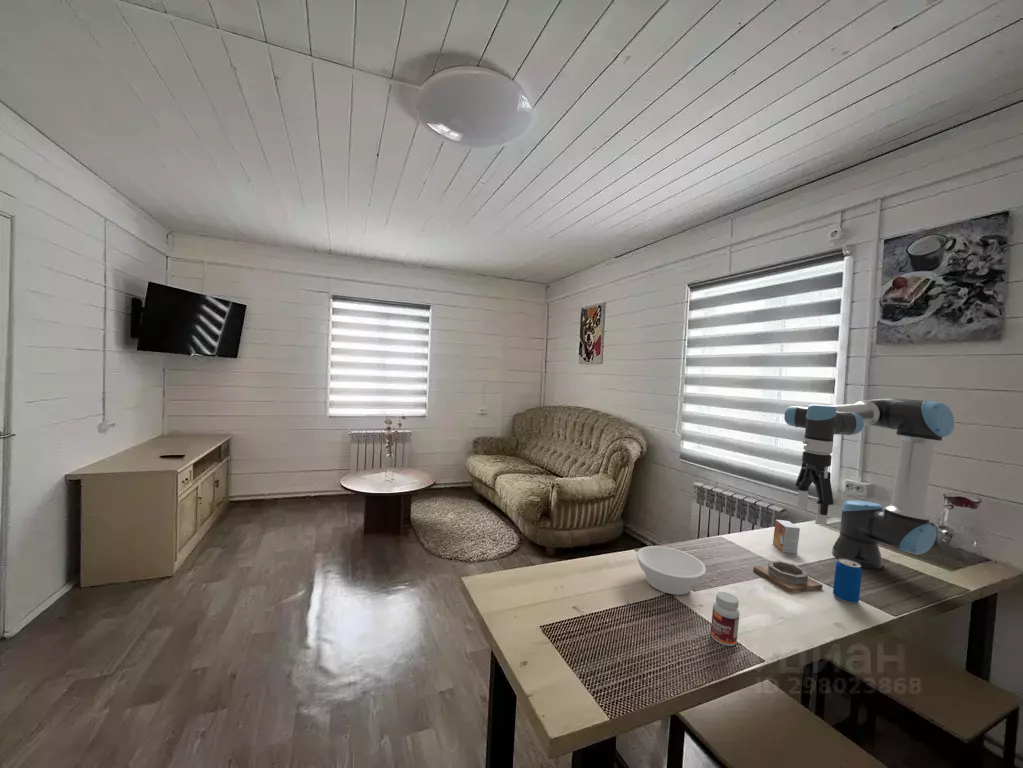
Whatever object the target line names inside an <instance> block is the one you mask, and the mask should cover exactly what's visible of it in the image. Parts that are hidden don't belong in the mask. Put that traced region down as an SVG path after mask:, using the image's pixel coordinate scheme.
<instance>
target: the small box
mask: <svg viewBox="0 0 1023 768" xmlns="http://www.w3.org/2000/svg"><path fill="white" fill-rule="evenodd" d="M773 530H774V531H773V538H772V539H773V540H772V544H773V546H775V547H777V548H778V550H780V551H781V552H782V553H790V554H795V555H796V554H798V547H799V541H800V540H799V539H800V530H801V529H800V527H798V526H797V525H795V524H793V523H792V522H791V521H790V520H783V519H775V521H774V529H773Z"/></svg>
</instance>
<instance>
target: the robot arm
mask: <svg viewBox="0 0 1023 768" xmlns="http://www.w3.org/2000/svg"><path fill="white" fill-rule="evenodd" d="M783 415H784V417H783V418H784V422H785V423H786V424H787V425H789V426H790V427H795V428H800V429H804V430H805V432H804V439H803V441H802V444H803V448H802V449H803V451H802V456H801V457H802V459H801V461H802V463H801V468H800V471H799V472H798V473H799V474H798V476H797V479H796V482H795V486H796V487H797V491H798V492H797V501H796V502H797V503H796V510H798V511H808V510H807V509H808V498H809V491H810V490H809V488H810V486H811V485H812V483H813V485H814V487H815V491H816V496H817V499H818V501H816V511H815V522H814V523H815V524H816V525H820V526H821V525H822V526H827V524H828V523H827V522H828V512H829V506H830V505H831V506H834V498H833V497H834V496H833V489H832V483H831V482H832V481H831V475H832V474H831V472H830V471H826V468H828V467H831V466H832V455H831V454H832V453H833V451H834V450H833V449H834V437H835V435H840V436H842V435H844V436H852V435H857V434H859V433H861V431H863V429H864V427H865V426H867V427H868V426H874V427H880V428H885V429H890V430H895V431H896V437H898V439H899V440H900V443H899V444H900V445H899V451H898V458H897V464H896V471H895V477H894V485H893V490H892V496H891V503H890V504H889V505H887V506H885V507H884V506H883V505H882V504H880V503H877V502H871V501H867V500H866V501H865V500H854V499H853V500H852V499H851V500H846V501H844V502H843V504H842V508H841V517H840V518H841V520H840V529H839V530H840V531H839V536H838V537H837V540H836V541H835V542H834V544H833V546H832V551H831V554H832V555H833V556H834V557H836V558H837V559H848V560H852V561H854V562H857V563H859V564H860V565H861V568H865V569H866V568H867V569H871V570H872V569H875V570H877V569H882V568H883V562H884V561H883V559H882V554H881V551H880V548H879V542H880V543H883V544H885V545H887V546H890V547H892V548H895V549H898V550H900V551H902V552H907V553H910V554H913V555H923V554H925V553H926V552H928V551H929V550H930V549H931V548H932V547H933V546H934V544H935V541H936V538H937V535H938V533H937V530H936V528H935V526H933V525H932V524H930V517H929V516H928V515H927V514H926V513H925V508H926V502H927V497H928V489H929V484H930V477H931V470H932V464H933V457H934V451H935V446H936V445H937V444H939V443H941V442H942V441H943V438H945V437H948V436H951V434H952V431H953V430H954V427H955V417H954V415H953V412H952V411H951V409H950V407H948V405H946V404H944V403H943V402H937V401H931V400H918V399H908V398H907V399H905V398H904V399H903V398H894V397H893V398H890V397H889V398H888V397H887V398H878V399H877V398H874V399H866V400H865V399H864V400H859V401H858V402H855V403H846V404H834V405H833V404H832V405H831V404H830V405H826V404H810V405H808V406H800V405H796V406H795V405H792V406H788V407H787V408H786V410H785V412H784V414H783ZM883 507H884V508H883ZM883 509H884V510H883Z"/></svg>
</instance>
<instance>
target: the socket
mask: <svg viewBox="0 0 1023 768" xmlns="http://www.w3.org/2000/svg"><path fill="white" fill-rule="evenodd" d="M753 572H755V573H757V574H758V575H759V576H761V577H763V578H765V579H766V580H767V581H769V582H771V583H772V584H774V585H776V586H777V587H779V588H781V589H783V590H784V591H786V592H787V593H797V592H809V591H818V590H823V584H822V583H819V582H818V581H817V580H814V579H812V578H811V577H809V575H808V572H807V570H806V569H804V568H802V567H800V566H799V565H796V564H794V563H791V562H786V561H783V560H779V559H778V560H768V564H767V565H760V566H757V565H755V566H753Z"/></svg>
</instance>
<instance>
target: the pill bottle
mask: <svg viewBox="0 0 1023 768" xmlns="http://www.w3.org/2000/svg"><path fill="white" fill-rule="evenodd" d="M739 601H740V600H739V598H738V597H737V596H736V595H734V594H732V593H730V592H725V591H718V592H717V593H716V597H715V602H714V603H713V606H712V614H711V615H712V616H711V625H710V636H711V637H712V639H713V640H714V641H715V642H717V643H719V644H720V645H722V646H726V647H733V646H735V645H736V644H737V643H738V634H739V633H738V632H739V622H740V621H739V620H740V611H739V609H738V608H739Z"/></svg>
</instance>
